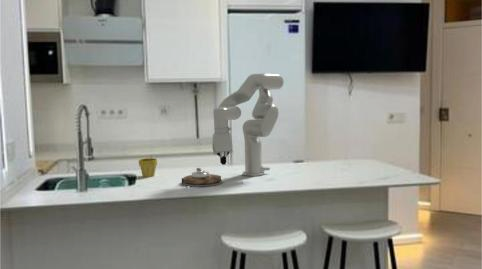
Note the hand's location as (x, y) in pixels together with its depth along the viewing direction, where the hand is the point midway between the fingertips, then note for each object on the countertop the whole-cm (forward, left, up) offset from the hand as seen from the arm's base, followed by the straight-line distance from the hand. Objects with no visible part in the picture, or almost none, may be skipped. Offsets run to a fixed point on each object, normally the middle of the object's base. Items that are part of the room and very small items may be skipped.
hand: (223, 164), depth 264 cm
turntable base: (+12, +1, -9) cm, 15 cm away
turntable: (+12, +1, -8) cm, 15 cm away
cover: (+13, +1, -6) cm, 14 cm away
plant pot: (+37, -30, -9) cm, 49 cm away
